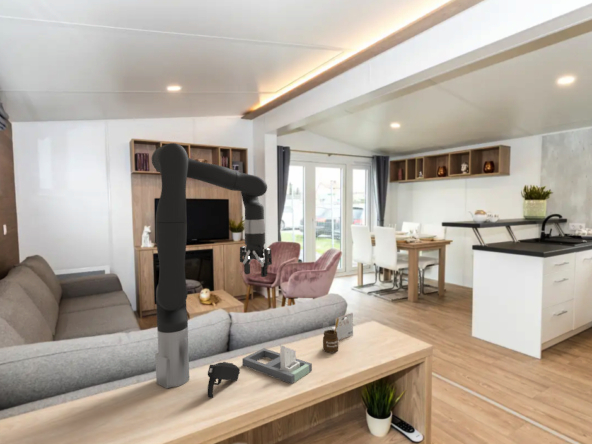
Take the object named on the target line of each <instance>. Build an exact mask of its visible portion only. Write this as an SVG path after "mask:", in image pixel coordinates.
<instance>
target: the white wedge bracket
mask: <svg viewBox="0 0 592 444" xmlns="http://www.w3.org/2000/svg"><path fill="white" fill-rule="evenodd" d="M296 352H297V351H296V350H294V349H292V348H290V347H286V346H284V345H281V344H280V352H279V353H280V356H281V370H283V371H286V372H289V373H292V372H293V371H295V370H297V369H298V368H300V362H297V361H296V359H297V357H296V355H297V354H296Z"/></svg>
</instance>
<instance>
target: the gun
mask: <svg viewBox="0 0 592 444" xmlns="http://www.w3.org/2000/svg"><path fill="white" fill-rule="evenodd" d="M240 373H241V372H240V367H239V366H238V365H236V364H234V363H233V362H226V361H222V362H218V363H214V364H209V366H208V370H207V377H208V378H209V379H208V384H207V397H208V398H211V399H212V398H214V386H219V385H221V383H222V381H223V380H224V381H234V382H237V381H238V380H239V376H240V375H241V374H240ZM239 374H240V375H239Z"/></svg>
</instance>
